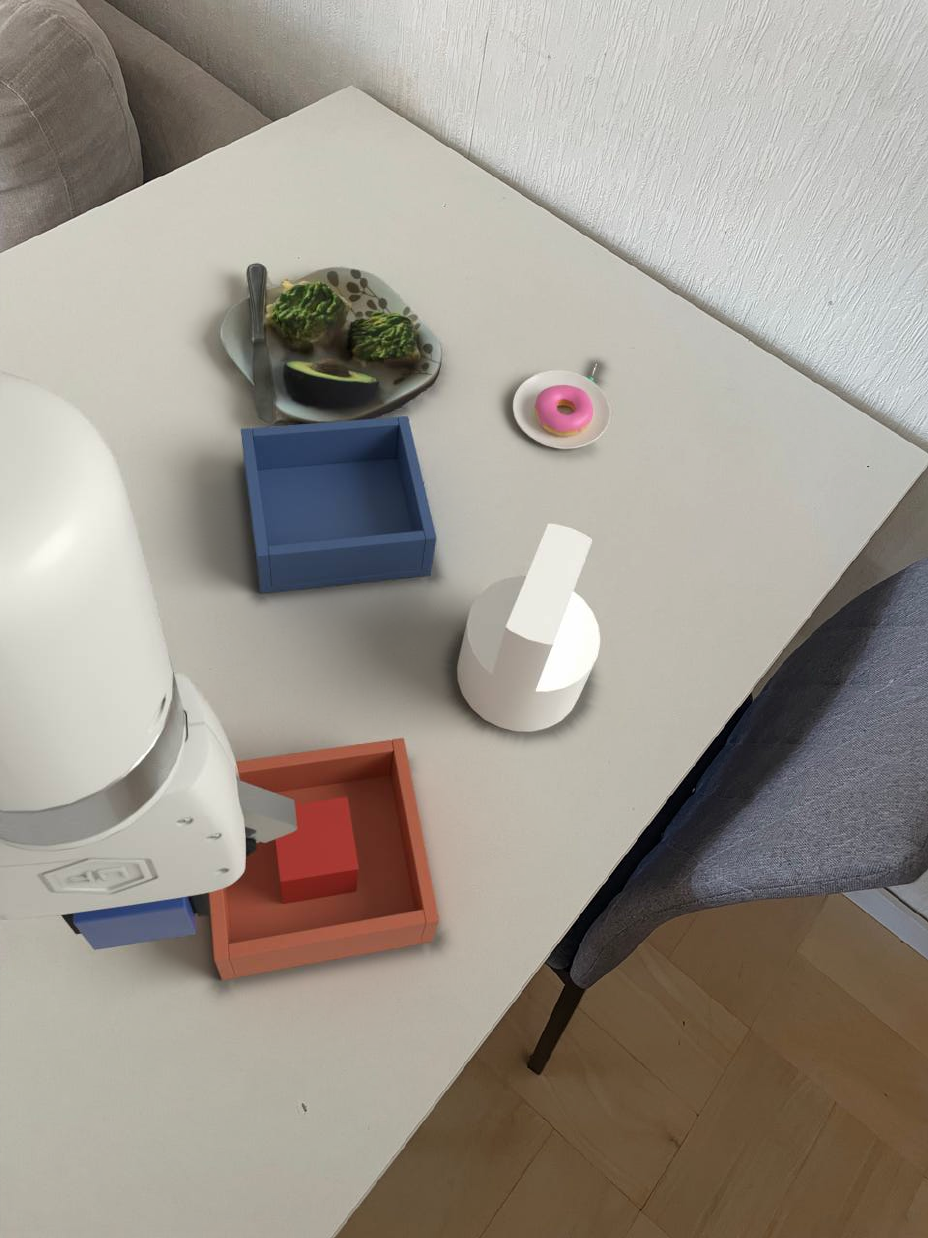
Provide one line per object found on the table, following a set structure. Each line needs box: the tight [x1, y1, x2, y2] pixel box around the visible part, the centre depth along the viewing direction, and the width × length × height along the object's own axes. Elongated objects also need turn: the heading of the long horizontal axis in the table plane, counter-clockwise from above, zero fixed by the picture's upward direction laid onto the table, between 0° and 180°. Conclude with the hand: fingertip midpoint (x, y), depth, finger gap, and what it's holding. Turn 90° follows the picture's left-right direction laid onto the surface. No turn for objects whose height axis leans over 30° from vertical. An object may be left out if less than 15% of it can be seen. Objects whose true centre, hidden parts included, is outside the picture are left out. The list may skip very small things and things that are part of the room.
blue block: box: [73, 896, 197, 951], centre depth 45 cm, size 4×4×4 cm
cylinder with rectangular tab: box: [456, 523, 601, 733], centre depth 68 cm, size 9×9×12 cm
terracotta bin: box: [209, 737, 440, 981], centre depth 62 cm, size 13×12×5 cm
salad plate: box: [219, 262, 443, 426], centre depth 85 cm, size 19×18×5 cm
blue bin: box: [240, 415, 437, 595], centre depth 76 cm, size 13×12×5 cm
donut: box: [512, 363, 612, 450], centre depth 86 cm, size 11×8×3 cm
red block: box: [275, 797, 359, 904], centre depth 61 cm, size 4×4×4 cm
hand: (143, 890), depth 47 cm, fingers closed on blue block, 4 cm apart
